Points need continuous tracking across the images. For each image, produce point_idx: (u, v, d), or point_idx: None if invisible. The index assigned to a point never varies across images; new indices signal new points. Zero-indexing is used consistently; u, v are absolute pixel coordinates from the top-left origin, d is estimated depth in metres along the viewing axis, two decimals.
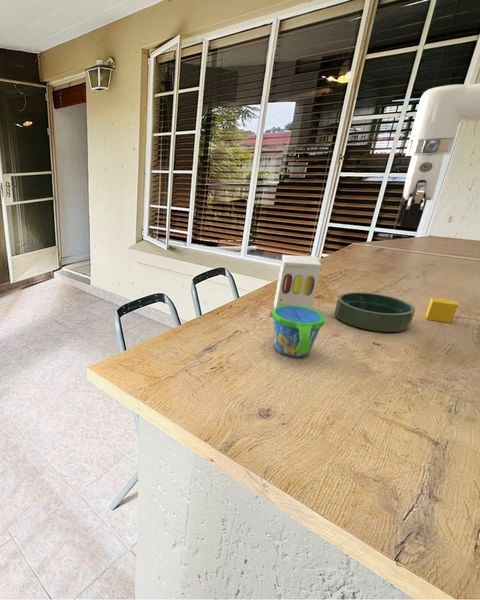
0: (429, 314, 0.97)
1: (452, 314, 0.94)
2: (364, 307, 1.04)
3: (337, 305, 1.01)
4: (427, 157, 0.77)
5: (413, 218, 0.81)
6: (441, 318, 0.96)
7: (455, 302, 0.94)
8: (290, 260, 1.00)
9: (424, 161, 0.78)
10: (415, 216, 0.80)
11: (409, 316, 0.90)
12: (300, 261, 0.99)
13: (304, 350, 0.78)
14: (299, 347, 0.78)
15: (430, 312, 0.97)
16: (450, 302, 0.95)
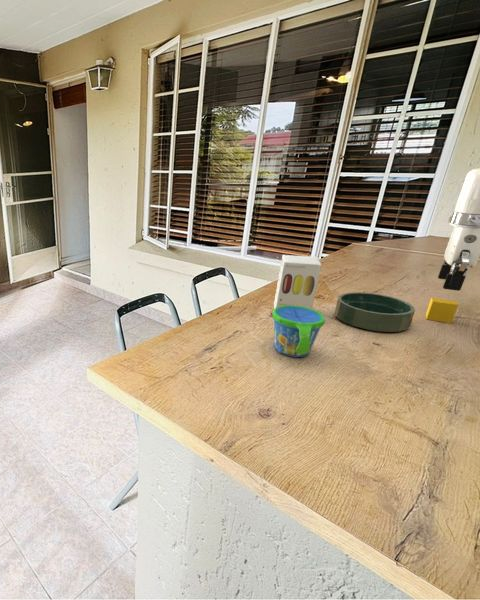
0: (429, 314, 0.97)
1: (452, 314, 0.94)
2: (364, 307, 1.04)
3: (337, 305, 1.01)
4: (472, 230, 0.85)
5: (456, 283, 0.89)
6: (441, 318, 0.96)
7: (455, 302, 0.94)
8: (290, 260, 1.00)
9: (469, 233, 0.86)
10: (458, 281, 0.88)
11: (409, 316, 0.90)
12: (300, 261, 0.99)
13: (304, 350, 0.78)
14: (299, 347, 0.78)
15: (430, 312, 0.97)
16: (450, 302, 0.95)
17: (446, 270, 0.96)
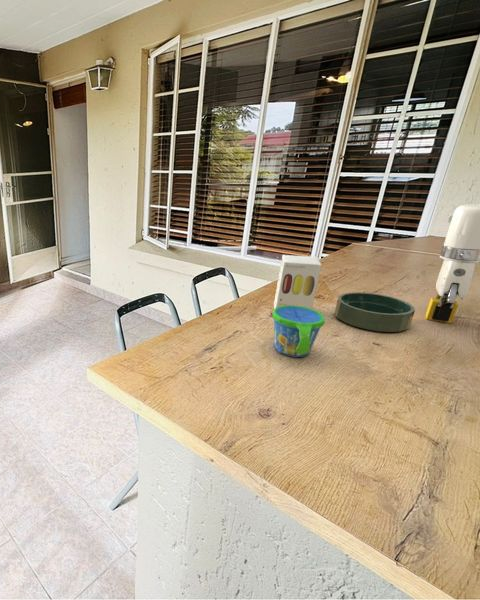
0: (429, 314, 0.97)
1: (452, 314, 0.94)
2: (364, 307, 1.04)
3: (337, 305, 1.01)
4: (461, 264, 0.88)
5: (444, 314, 0.94)
6: None
7: (455, 302, 0.94)
8: (290, 260, 1.00)
9: (458, 267, 0.89)
10: (446, 313, 0.94)
11: (409, 316, 0.90)
12: (300, 261, 0.99)
13: (304, 350, 0.78)
14: (299, 347, 0.78)
15: (430, 312, 0.97)
16: None
17: None
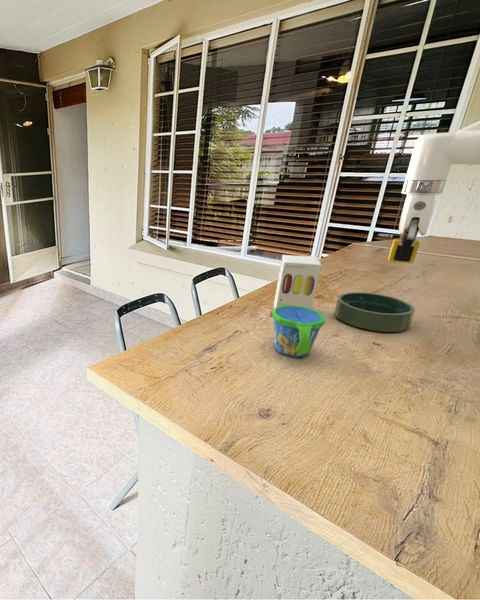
0: (391, 255, 0.93)
1: (414, 253, 0.90)
2: (364, 307, 1.04)
3: (337, 305, 1.01)
4: (421, 197, 0.84)
5: (405, 254, 0.90)
6: None
7: (416, 241, 0.90)
8: (290, 260, 1.00)
9: (418, 200, 0.85)
10: (407, 252, 0.90)
11: (409, 316, 0.90)
12: (300, 261, 0.99)
13: (304, 350, 0.78)
14: (299, 347, 0.78)
15: (392, 253, 0.93)
16: None
17: None
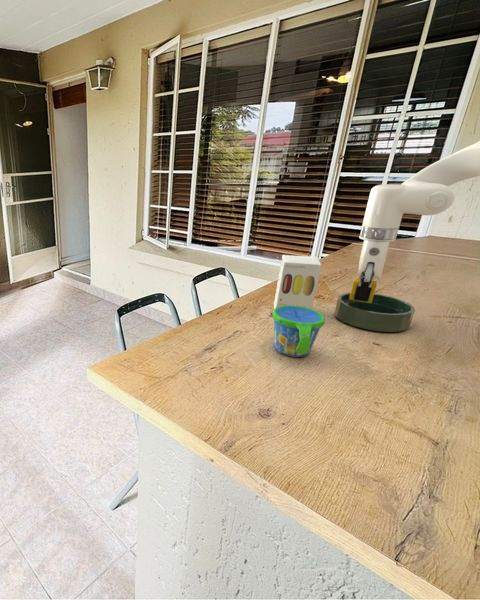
0: (351, 294, 0.99)
1: (371, 294, 0.96)
2: (364, 307, 1.04)
3: (337, 305, 1.01)
4: (375, 243, 0.90)
5: (364, 294, 0.96)
6: None
7: (374, 282, 0.96)
8: (290, 260, 1.00)
9: (373, 246, 0.90)
10: (365, 293, 0.95)
11: (409, 316, 0.90)
12: (300, 261, 0.99)
13: (304, 350, 0.78)
14: (299, 347, 0.78)
15: (352, 292, 0.98)
16: None
17: None
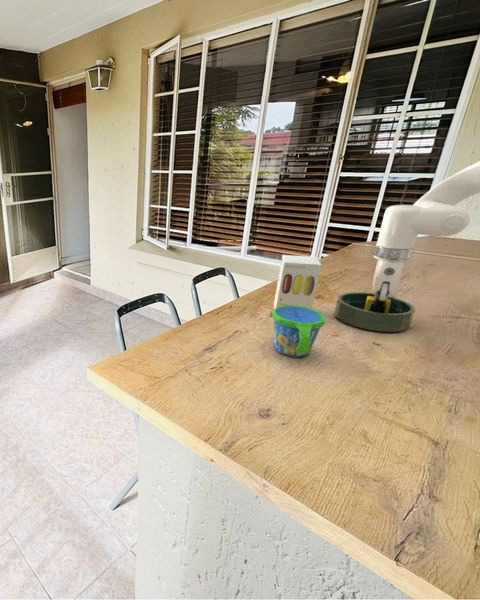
0: None
1: (385, 312, 0.97)
2: (364, 307, 1.04)
3: (337, 305, 1.01)
4: (390, 263, 0.90)
5: (378, 312, 0.96)
6: None
7: (388, 300, 0.96)
8: (290, 260, 1.00)
9: (388, 266, 0.91)
10: (380, 311, 0.96)
11: (409, 316, 0.90)
12: (300, 261, 0.99)
13: (304, 350, 0.78)
14: (299, 347, 0.78)
15: (366, 310, 0.99)
16: None
17: None
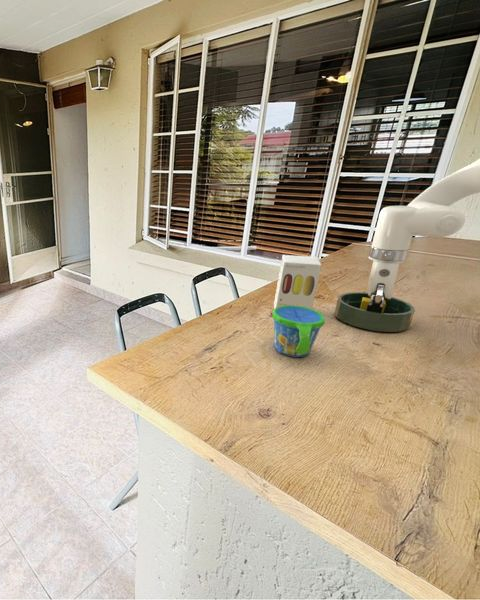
0: None
1: None
2: None
3: (337, 305, 1.01)
4: (385, 265, 0.90)
5: None
6: None
7: (383, 302, 0.96)
8: (290, 260, 1.00)
9: (383, 268, 0.90)
10: None
11: (409, 316, 0.90)
12: (300, 261, 0.99)
13: (304, 350, 0.78)
14: (299, 347, 0.78)
15: None
16: None
17: None
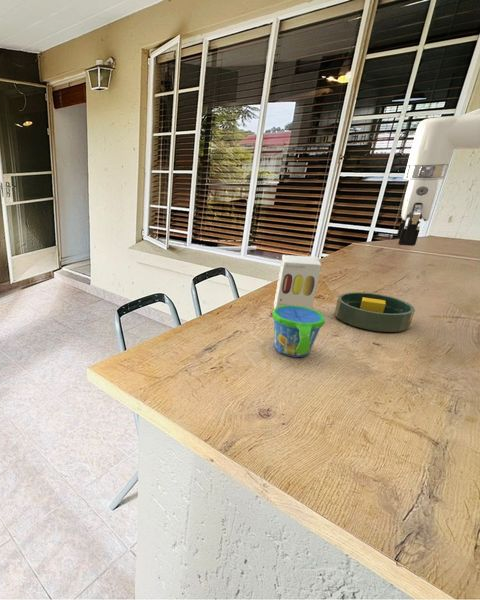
0: None
1: None
2: None
3: (337, 305, 1.01)
4: (423, 182, 0.83)
5: (410, 237, 0.87)
6: None
7: (383, 302, 0.96)
8: (290, 260, 1.00)
9: (420, 185, 0.84)
10: (412, 235, 0.87)
11: (409, 316, 0.90)
12: (300, 261, 0.99)
13: (304, 350, 0.78)
14: (299, 347, 0.78)
15: None
16: (379, 301, 0.96)
17: (404, 228, 0.95)
